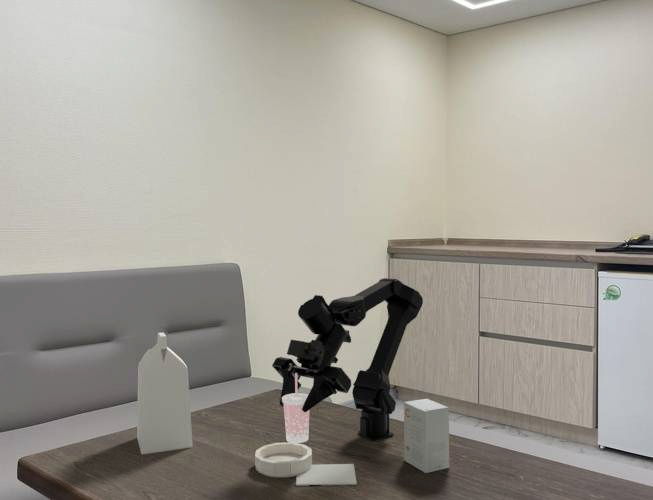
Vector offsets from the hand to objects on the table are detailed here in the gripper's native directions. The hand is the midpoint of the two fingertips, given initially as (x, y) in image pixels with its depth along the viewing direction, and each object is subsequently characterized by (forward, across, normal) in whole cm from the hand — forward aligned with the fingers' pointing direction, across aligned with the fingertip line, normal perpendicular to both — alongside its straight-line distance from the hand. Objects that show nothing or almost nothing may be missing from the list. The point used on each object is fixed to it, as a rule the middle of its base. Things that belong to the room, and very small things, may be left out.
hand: (292, 408), depth 127 cm
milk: (+14, -36, +5) cm, 39 cm away
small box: (-5, +19, +24) cm, 32 cm away
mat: (+7, +6, +12) cm, 15 cm away
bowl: (+9, -4, +10) cm, 14 cm away
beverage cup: (+4, 0, +6) cm, 7 cm away
